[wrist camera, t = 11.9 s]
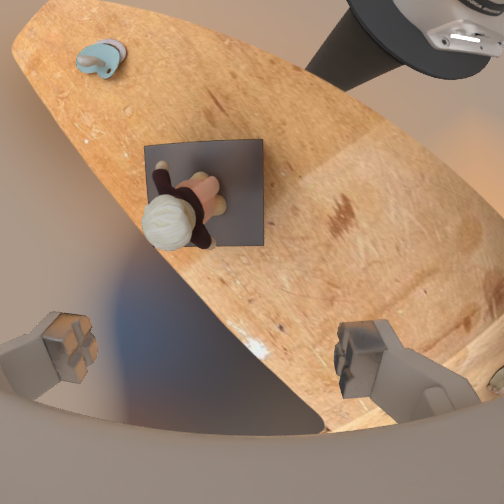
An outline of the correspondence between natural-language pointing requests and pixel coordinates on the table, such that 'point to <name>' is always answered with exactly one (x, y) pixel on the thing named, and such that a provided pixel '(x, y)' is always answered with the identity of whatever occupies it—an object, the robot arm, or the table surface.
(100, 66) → the pacifier
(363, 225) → the table surface
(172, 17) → the table surface
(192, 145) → the rack
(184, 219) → the grandmother figurine
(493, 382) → the figurine
